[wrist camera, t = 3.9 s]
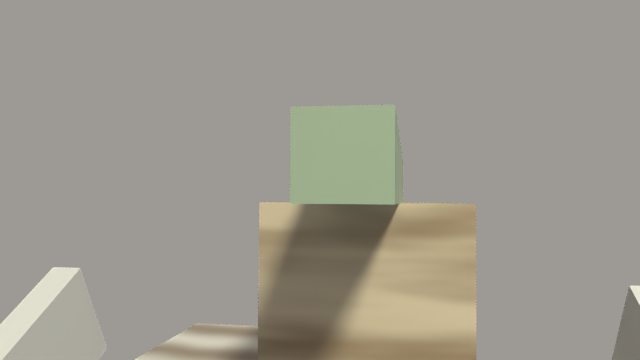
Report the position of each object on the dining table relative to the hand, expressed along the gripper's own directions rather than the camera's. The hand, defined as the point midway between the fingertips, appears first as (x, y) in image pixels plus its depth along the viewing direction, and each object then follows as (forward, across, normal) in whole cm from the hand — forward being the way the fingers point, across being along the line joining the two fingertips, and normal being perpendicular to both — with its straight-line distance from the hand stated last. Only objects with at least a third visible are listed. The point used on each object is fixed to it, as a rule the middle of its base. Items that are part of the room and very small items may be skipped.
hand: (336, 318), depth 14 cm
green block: (+15, 0, -6) cm, 16 cm away
